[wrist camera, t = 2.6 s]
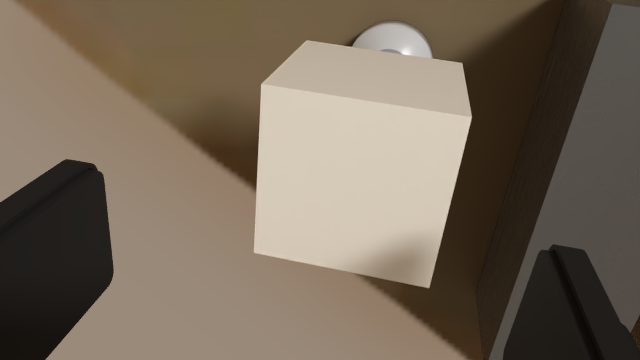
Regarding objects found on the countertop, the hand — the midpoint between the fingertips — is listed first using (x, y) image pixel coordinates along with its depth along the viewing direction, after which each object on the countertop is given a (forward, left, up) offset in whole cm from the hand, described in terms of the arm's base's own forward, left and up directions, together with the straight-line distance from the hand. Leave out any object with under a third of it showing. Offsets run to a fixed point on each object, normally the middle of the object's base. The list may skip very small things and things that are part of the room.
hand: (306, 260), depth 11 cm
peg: (0, +1, -16) cm, 16 cm away
